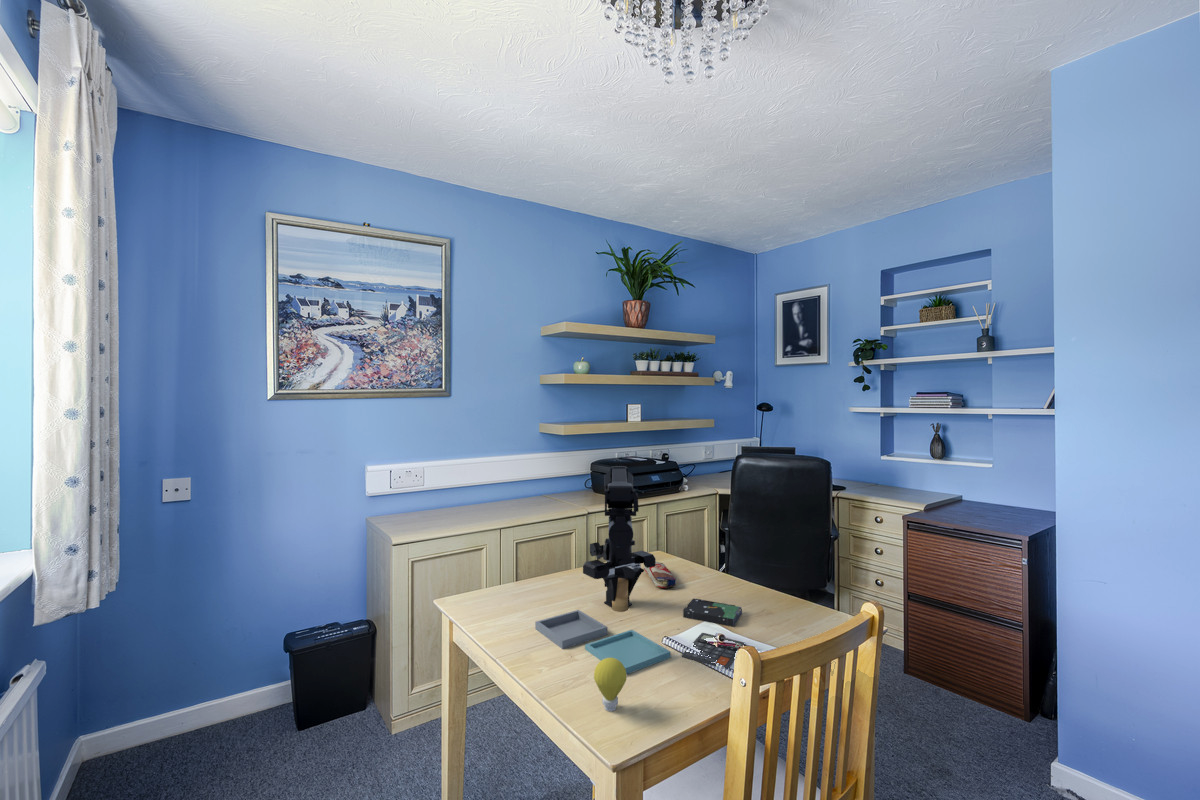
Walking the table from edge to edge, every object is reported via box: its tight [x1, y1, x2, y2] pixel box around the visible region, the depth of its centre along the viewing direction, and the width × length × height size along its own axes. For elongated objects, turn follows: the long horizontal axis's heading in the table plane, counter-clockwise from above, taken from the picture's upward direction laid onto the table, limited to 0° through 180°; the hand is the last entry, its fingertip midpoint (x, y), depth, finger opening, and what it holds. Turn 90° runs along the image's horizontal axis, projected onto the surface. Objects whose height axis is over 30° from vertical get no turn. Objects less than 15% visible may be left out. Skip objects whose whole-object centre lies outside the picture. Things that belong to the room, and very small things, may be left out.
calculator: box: [680, 632, 746, 670], centre depth 136 cm, size 12×1×15 cm
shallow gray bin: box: [535, 609, 608, 650], centre depth 146 cm, size 14×14×2 cm
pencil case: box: [643, 561, 677, 589], centre depth 186 cm, size 11×20×5 cm, turn 174°
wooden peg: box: [611, 578, 629, 613], centre depth 135 cm, size 4×4×7 cm
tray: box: [584, 629, 672, 675], centre depth 134 cm, size 15×15×2 cm
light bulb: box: [593, 658, 627, 712], centre depth 111 cm, size 7×7×10 cm
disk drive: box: [682, 598, 743, 628], centre depth 157 cm, size 10×3×15 cm
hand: (620, 598), depth 135 cm, fingers closed on wooden peg, 4 cm apart
